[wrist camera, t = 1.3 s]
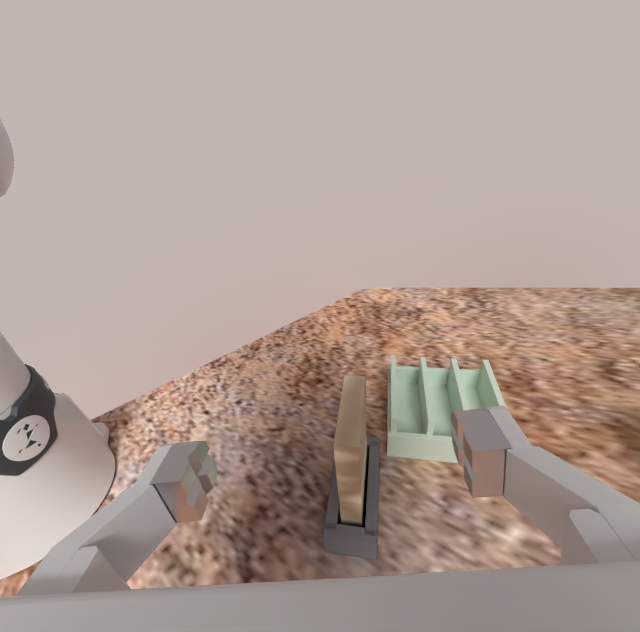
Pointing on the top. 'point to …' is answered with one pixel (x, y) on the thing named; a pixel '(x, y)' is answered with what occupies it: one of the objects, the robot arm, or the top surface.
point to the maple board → (351, 451)
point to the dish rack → (433, 406)
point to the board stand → (365, 539)
